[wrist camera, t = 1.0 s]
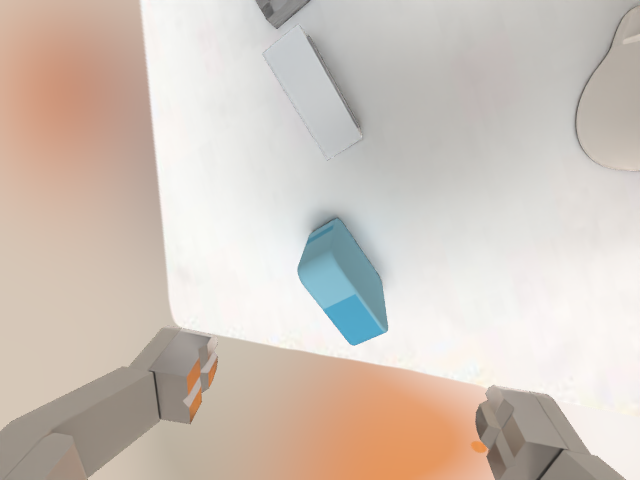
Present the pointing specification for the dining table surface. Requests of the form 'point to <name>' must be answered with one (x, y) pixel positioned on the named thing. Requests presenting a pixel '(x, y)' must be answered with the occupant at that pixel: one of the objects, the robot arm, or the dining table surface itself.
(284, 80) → the light grey block
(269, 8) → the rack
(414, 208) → the dining table surface
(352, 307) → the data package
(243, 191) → the dining table surface
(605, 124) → the robot arm
